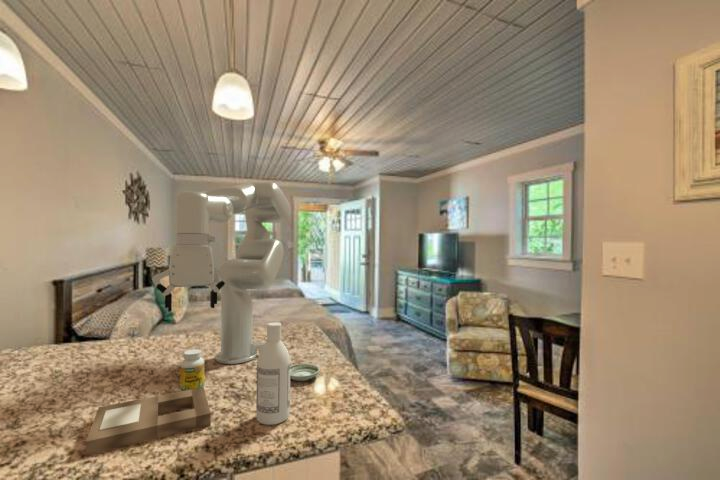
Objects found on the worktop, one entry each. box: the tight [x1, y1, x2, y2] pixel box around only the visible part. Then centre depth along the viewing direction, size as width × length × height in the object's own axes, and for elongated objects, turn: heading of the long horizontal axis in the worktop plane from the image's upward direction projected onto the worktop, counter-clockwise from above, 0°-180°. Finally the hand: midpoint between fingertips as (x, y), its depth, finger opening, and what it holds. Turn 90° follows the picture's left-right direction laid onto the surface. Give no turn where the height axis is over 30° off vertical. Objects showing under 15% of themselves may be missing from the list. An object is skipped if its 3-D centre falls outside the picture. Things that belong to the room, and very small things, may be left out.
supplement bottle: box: [180, 349, 205, 392], centre depth 85 cm, size 5×5×10 cm
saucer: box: [290, 363, 321, 382], centre depth 93 cm, size 10×10×2 cm
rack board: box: [85, 386, 212, 457], centre depth 70 cm, size 20×14×3 cm
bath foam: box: [255, 322, 291, 426], centre depth 72 cm, size 7×7×20 cm
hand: (191, 308), depth 85 cm, fingers open, 9 cm apart
